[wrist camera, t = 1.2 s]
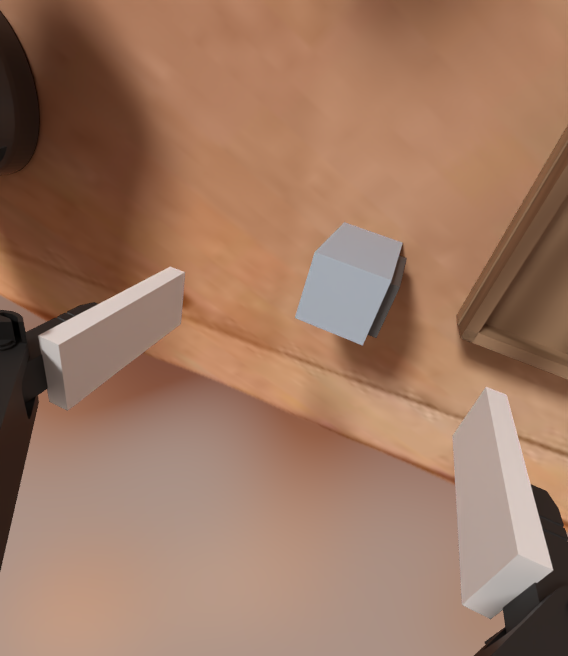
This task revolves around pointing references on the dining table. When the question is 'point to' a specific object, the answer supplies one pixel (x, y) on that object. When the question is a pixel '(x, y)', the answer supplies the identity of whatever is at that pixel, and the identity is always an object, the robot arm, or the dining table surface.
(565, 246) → the rail
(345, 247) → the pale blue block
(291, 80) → the dining table surface
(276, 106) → the dining table surface
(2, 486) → the robot arm
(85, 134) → the dining table surface
